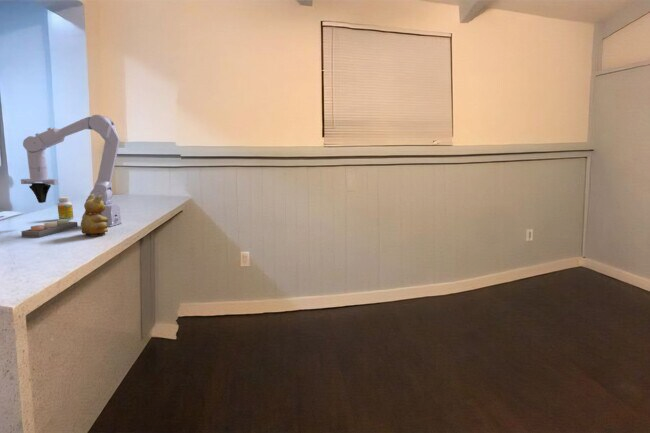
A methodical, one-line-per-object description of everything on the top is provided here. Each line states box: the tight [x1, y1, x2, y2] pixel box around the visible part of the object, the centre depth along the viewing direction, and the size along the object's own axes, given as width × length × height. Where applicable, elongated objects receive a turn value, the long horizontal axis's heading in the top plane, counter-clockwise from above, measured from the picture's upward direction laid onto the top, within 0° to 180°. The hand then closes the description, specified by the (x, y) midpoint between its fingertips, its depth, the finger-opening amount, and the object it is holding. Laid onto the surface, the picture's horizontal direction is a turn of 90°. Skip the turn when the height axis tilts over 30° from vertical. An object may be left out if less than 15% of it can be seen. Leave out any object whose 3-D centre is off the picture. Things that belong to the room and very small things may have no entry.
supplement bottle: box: [56, 196, 74, 221], centre depth 174 cm, size 5×5×10 cm
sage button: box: [56, 219, 70, 225], centre depth 156 cm, size 4×4×2 cm
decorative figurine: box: [80, 194, 109, 237], centre depth 144 cm, size 10×8×15 cm
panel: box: [20, 221, 79, 238], centre depth 151 cm, size 7×19×2 cm, turn 173°
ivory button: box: [43, 221, 57, 228], centre depth 151 cm, size 4×4×2 cm
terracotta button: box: [30, 224, 44, 231], centre depth 145 cm, size 4×4×2 cm
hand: (42, 202), depth 157 cm, fingers closed
